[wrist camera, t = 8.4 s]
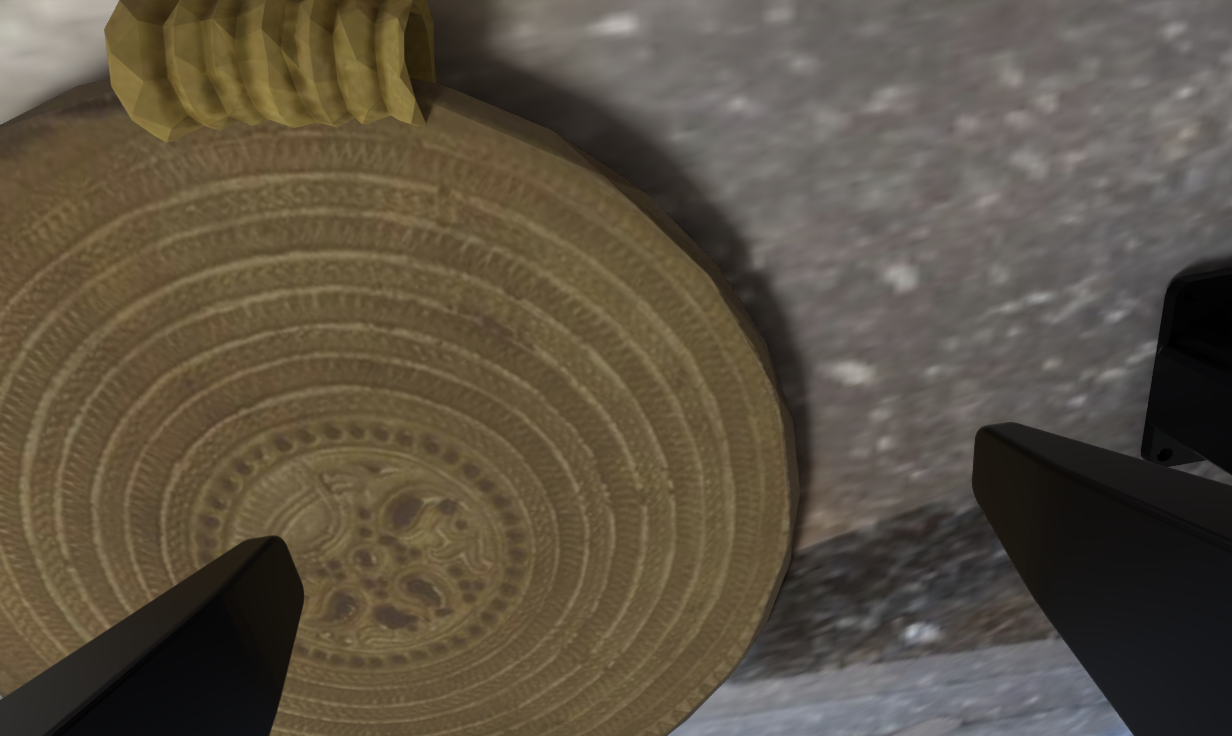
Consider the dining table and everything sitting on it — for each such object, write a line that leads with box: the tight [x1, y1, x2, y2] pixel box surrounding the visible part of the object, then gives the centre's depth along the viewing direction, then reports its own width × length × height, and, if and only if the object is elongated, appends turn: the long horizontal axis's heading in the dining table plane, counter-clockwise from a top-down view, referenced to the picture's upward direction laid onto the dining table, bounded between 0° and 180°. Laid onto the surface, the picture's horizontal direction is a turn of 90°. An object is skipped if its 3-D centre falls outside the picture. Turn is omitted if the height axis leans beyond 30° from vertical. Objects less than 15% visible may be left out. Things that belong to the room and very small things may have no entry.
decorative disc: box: [0, 0, 800, 736], centre depth 22 cm, size 29×3×30 cm
